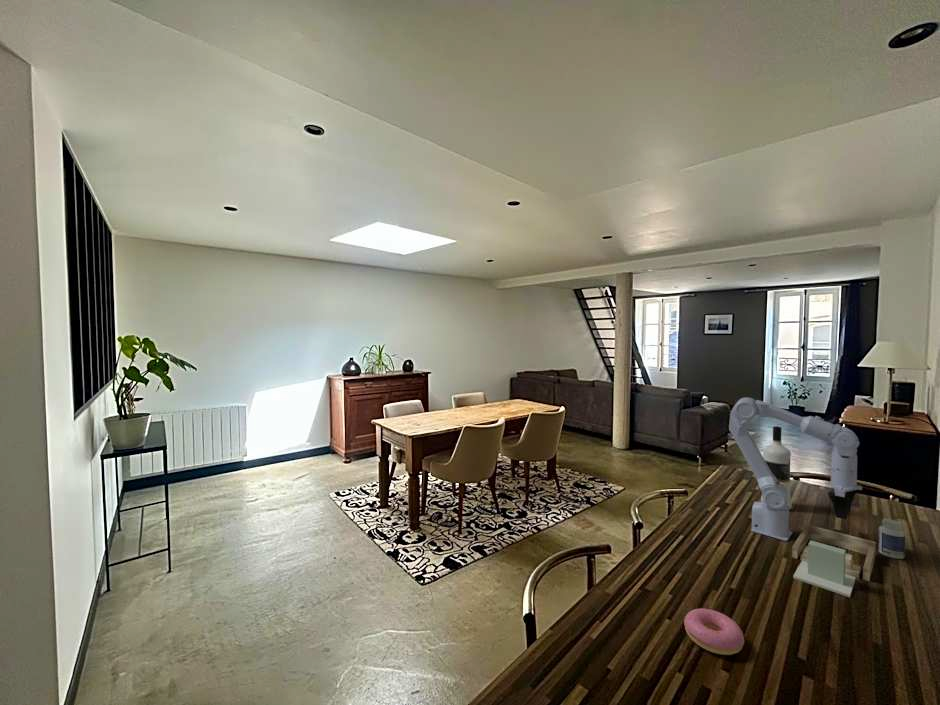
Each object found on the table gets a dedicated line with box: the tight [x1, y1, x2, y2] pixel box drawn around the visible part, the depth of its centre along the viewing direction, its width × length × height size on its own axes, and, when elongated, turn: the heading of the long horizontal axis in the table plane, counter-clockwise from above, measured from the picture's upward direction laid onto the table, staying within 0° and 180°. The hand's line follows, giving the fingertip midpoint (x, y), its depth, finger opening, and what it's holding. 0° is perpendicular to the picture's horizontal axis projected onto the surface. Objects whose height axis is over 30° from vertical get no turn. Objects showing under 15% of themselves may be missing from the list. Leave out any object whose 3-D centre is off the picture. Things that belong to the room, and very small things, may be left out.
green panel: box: [807, 539, 847, 585], centre depth 107 cm, size 7×3×8 cm, turn 42°
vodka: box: [760, 426, 793, 510], centre depth 154 cm, size 9×9×30 cm
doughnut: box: [683, 607, 745, 656], centre depth 86 cm, size 11×11×4 cm
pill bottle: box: [878, 518, 906, 560], centre depth 119 cm, size 5×5×10 cm
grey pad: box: [792, 560, 856, 598], centre depth 107 cm, size 11×11×1 cm
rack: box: [791, 523, 877, 582], centre depth 118 cm, size 16×19×4 cm
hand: (842, 514), depth 122 cm, fingers open, 7 cm apart
